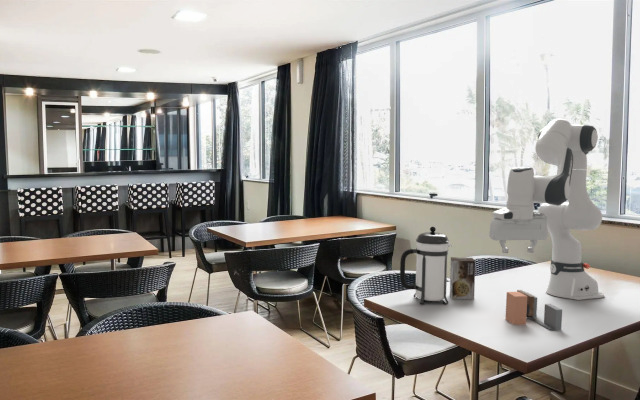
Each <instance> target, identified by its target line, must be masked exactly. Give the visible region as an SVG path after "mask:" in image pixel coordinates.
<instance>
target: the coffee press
mask: <svg viewBox="0 0 640 400" xmlns="http://www.w3.org/2000/svg"><path fill="white" fill-rule="evenodd" d="M436 230H437V229H436V227H435V226H431V227H430V228H429V232H428V231H427V232H421V233H420V234H418V236H417V237H416V239H415V242H416V248H414V249H413V248H410V249H406V250H405V251H403V253H402V254H401V256H400V263H399V280H400V284H401V285H402V286H403V288H405V289H408V290H415V293H414V294H413V298H415V299H417V298H418V299H420V300H419V305H422V306H423V305H425V303H426V302H427V301H429V302H431V301H432V302H437V301H439V302H440V301H441V303H442V304H443V305H444V306H445V305H448V304H449V301H448V300H449V299H447V285H448V284H447V283H448V282H447V280H448V256H449V248H452V244H451V243H450V240H449V238H448V236H447V235H446V234H445V233H442V232H441V233H440V232H436ZM412 254H416V261H415V263H416V265H415V283H414V284H408V283H407V282H406V279H405V277H406V258H407V257H408V255H412Z"/></svg>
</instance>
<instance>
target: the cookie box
mask: <svg viewBox="0 0 640 400" xmlns="http://www.w3.org/2000/svg"><path fill="white" fill-rule="evenodd" d="M449 269H450V273H449V274H450V275H449V279H450V280H449V297H450V298H451V300H475V285H476V284H475V283H476V282H475V279H476V277H475V276H476V260H475V259H474V258H473V257H458V256H457V257H453V256H452V257H451V256H450V268H449Z"/></svg>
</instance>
